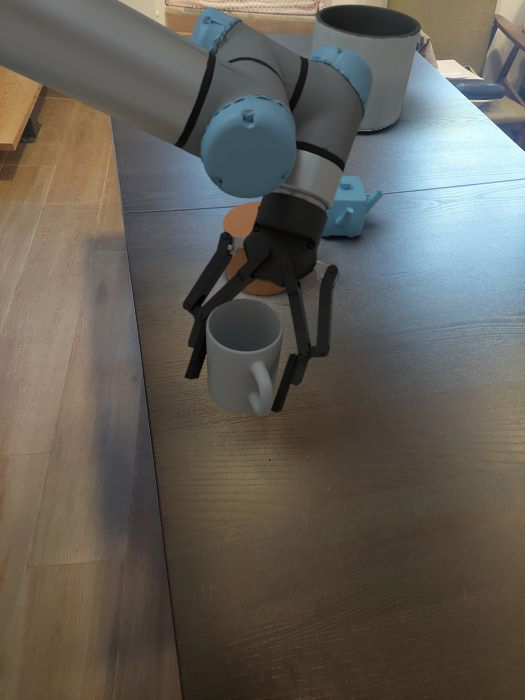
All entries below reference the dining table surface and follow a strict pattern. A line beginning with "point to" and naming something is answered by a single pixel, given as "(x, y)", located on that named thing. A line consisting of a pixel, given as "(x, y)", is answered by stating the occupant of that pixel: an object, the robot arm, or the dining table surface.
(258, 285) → the pot
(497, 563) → the dining table surface
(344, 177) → the teapot
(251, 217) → the pot lid
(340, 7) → the planter
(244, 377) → the mug
